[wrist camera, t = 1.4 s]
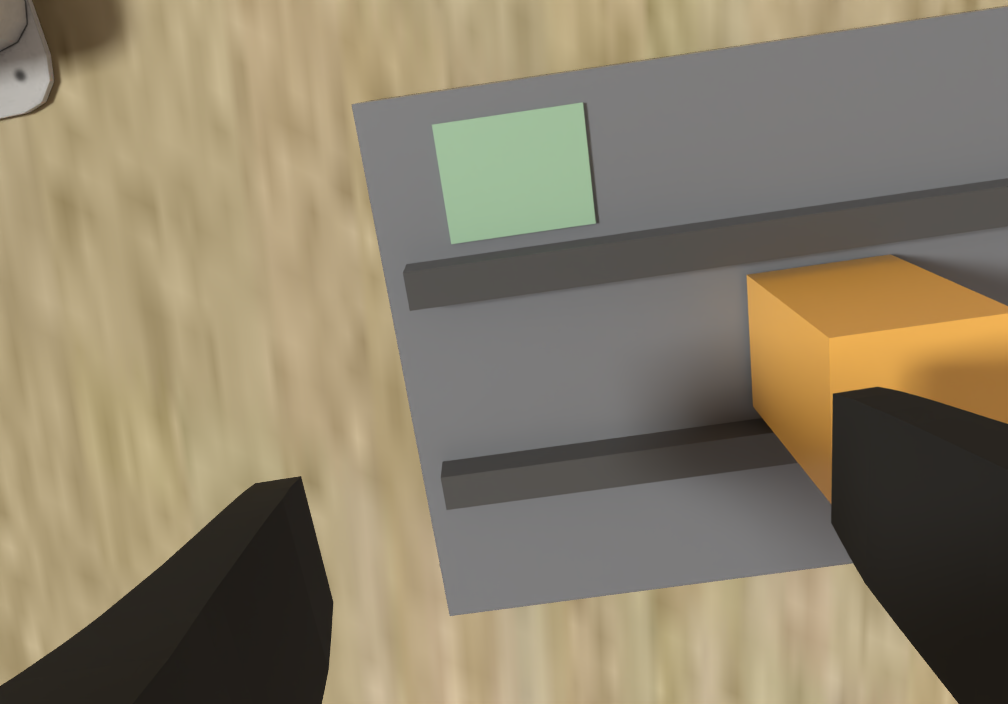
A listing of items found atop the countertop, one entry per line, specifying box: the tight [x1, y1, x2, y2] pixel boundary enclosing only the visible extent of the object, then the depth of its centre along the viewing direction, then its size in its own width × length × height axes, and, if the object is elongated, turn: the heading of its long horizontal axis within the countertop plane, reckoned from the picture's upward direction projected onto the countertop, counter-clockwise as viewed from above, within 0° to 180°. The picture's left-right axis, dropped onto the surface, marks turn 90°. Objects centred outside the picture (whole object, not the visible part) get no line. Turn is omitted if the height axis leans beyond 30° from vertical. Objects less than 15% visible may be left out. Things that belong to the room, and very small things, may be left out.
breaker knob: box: [747, 254, 1008, 503], centre depth 16 cm, size 3×3×4 cm
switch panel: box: [352, 6, 1008, 616], centre depth 19 cm, size 12×18×4 cm, turn 98°
